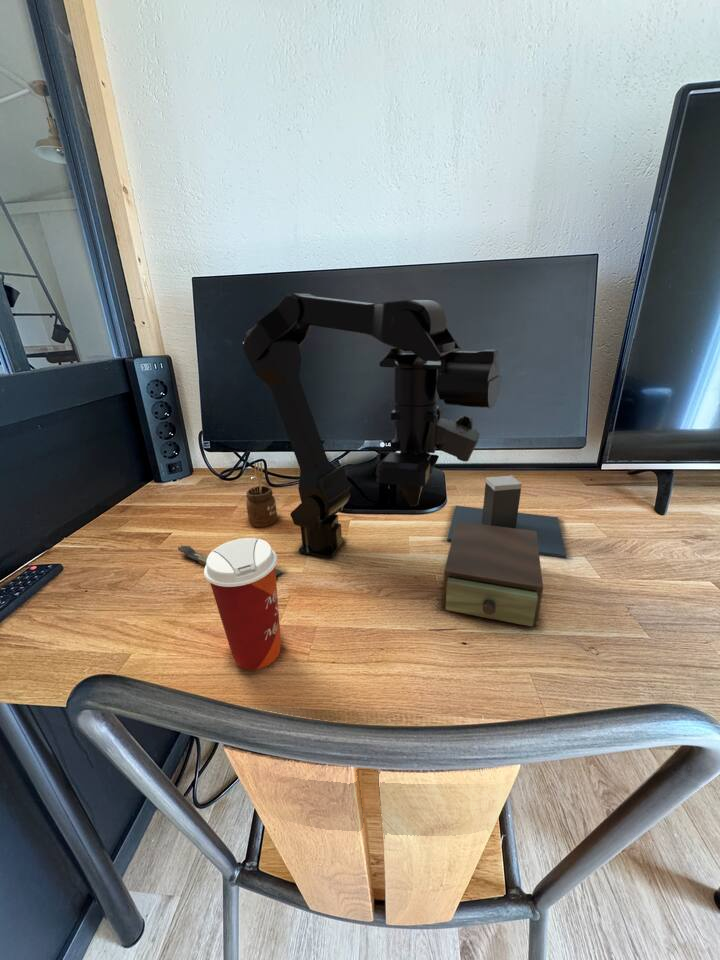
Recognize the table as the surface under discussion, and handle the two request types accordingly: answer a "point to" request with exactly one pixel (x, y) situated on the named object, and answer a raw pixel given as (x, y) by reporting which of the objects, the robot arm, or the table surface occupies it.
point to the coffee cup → (247, 599)
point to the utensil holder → (260, 503)
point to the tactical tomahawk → (201, 558)
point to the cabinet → (495, 558)
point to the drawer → (491, 601)
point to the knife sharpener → (501, 501)
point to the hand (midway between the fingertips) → (413, 505)
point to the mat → (543, 525)
